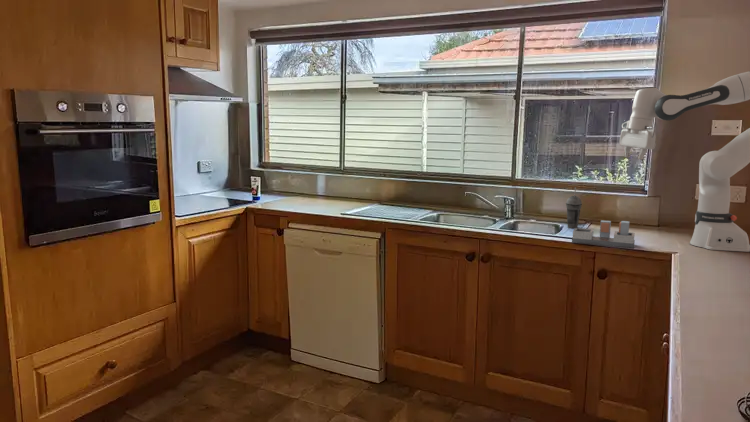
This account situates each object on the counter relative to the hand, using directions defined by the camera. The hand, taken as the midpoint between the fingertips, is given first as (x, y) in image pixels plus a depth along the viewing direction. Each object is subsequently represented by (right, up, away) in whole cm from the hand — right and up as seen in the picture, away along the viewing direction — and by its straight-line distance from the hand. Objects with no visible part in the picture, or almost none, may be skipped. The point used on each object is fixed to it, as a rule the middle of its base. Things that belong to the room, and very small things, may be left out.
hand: (633, 158), depth 230 cm
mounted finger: (-7, -35, -7) cm, 37 cm away
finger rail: (-15, -37, -3) cm, 39 cm away
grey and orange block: (-10, -35, +6) cm, 37 cm away
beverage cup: (-14, -31, +32) cm, 47 cm away
